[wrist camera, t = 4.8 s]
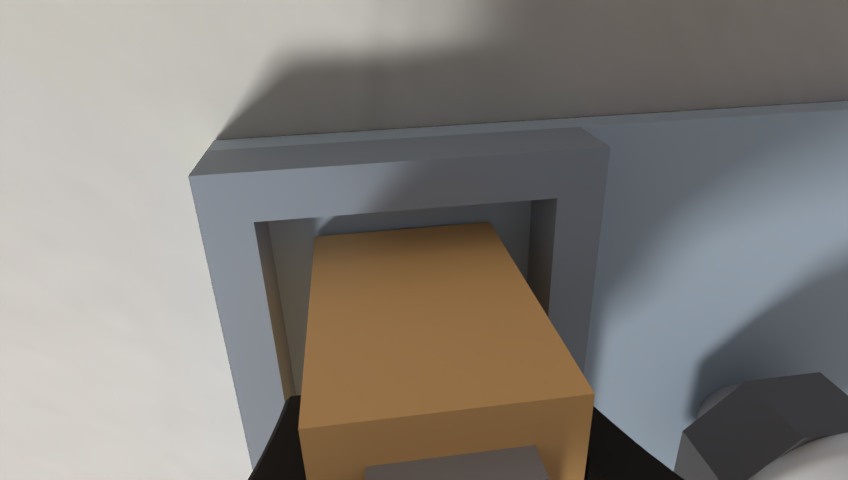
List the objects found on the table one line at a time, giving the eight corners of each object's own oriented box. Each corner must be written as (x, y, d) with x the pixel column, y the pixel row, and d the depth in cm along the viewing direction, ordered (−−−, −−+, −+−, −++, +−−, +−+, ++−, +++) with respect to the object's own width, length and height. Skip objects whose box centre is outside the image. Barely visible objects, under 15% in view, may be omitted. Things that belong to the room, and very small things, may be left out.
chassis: (945, 94, 14) (1062, 118, 12) (817, 446, 20) (881, 510, 17) (214, 140, 12) (185, 179, 10) (286, 518, 18) (279, 601, 15)
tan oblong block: (489, 222, 13) (613, 424, 7) (485, 420, 16) (574, 690, 10) (314, 235, 13) (295, 465, 7) (339, 438, 15) (340, 733, 9)
